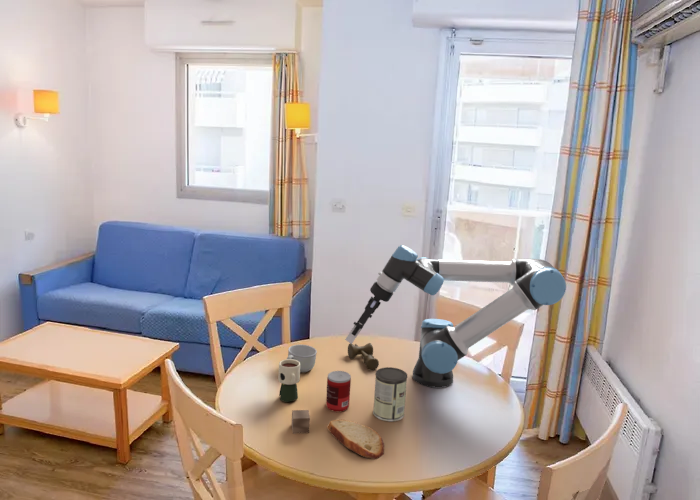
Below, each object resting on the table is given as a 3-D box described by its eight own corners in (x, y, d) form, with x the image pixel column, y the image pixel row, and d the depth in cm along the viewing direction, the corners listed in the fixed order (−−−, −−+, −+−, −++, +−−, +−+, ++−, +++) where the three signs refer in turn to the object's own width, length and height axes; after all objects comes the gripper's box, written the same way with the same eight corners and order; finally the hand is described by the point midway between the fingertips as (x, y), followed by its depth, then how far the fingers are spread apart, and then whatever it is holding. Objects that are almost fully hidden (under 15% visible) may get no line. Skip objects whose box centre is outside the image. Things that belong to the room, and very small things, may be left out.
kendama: (360, 373, 212) (343, 351, 230) (383, 371, 216) (365, 350, 234) (362, 358, 211) (344, 338, 229) (385, 357, 214) (366, 336, 233)
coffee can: (377, 403, 188) (380, 364, 185) (407, 410, 185) (410, 370, 182) (368, 417, 179) (371, 376, 176) (399, 424, 176) (403, 383, 173)
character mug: (274, 393, 191) (275, 357, 189) (294, 390, 194) (295, 355, 191) (282, 408, 182) (283, 371, 179) (303, 405, 184) (304, 368, 181)
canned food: (350, 401, 188) (352, 371, 186) (347, 413, 181) (349, 382, 178) (327, 399, 189) (329, 369, 187) (324, 411, 181) (325, 379, 179)
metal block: (307, 424, 173) (308, 409, 172) (309, 433, 168) (309, 418, 167) (291, 425, 172) (292, 410, 171) (292, 433, 167) (293, 418, 166)
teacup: (303, 360, 219) (304, 341, 217) (321, 370, 211) (322, 350, 210) (274, 370, 209) (275, 350, 208) (293, 380, 202) (293, 359, 200)
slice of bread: (328, 422, 175) (329, 411, 174) (385, 428, 173) (386, 418, 173) (319, 455, 158) (320, 443, 157) (383, 462, 156) (384, 450, 155)
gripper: (380, 273, 202) (350, 320, 207) (369, 288, 178) (335, 340, 183) (398, 285, 202) (367, 331, 206) (389, 301, 177) (354, 353, 182)
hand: (352, 335), depth 195 cm, fingers open, 13 cm apart
